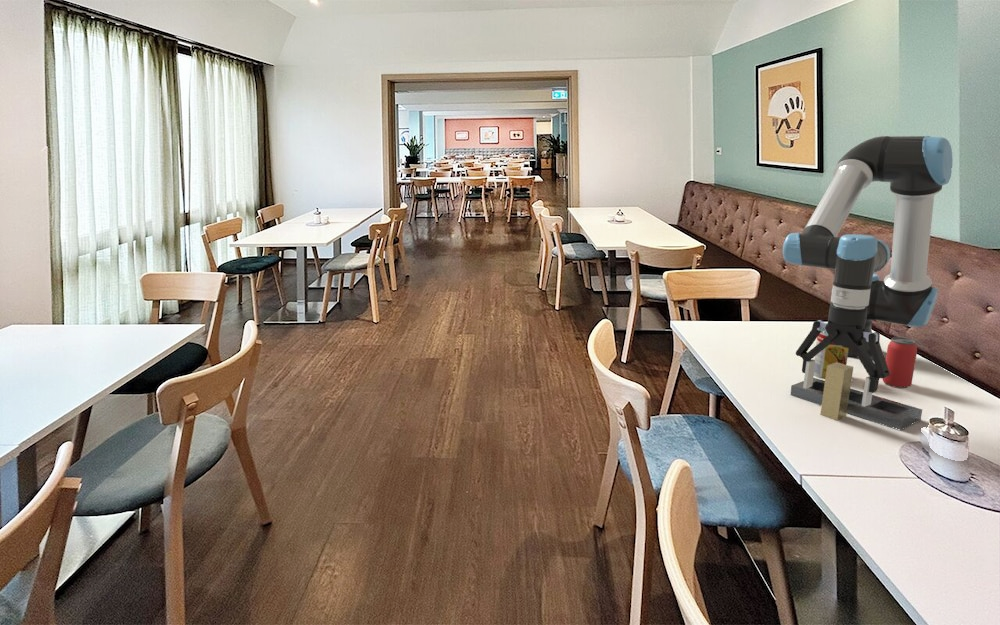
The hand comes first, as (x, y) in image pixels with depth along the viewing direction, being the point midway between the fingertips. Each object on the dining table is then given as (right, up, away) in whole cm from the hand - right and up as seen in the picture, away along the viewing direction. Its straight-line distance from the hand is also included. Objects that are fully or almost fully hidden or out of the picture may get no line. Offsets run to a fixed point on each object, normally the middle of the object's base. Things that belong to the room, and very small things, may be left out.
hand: (835, 395), depth 156 cm
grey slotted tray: (+7, -3, +7) cm, 10 cm away
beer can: (+27, 0, +22) cm, 35 cm away
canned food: (+12, +2, +28) cm, 31 cm away
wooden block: (0, -5, +1) cm, 5 cm away
